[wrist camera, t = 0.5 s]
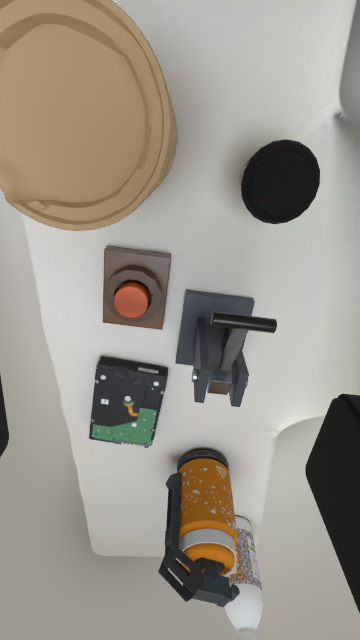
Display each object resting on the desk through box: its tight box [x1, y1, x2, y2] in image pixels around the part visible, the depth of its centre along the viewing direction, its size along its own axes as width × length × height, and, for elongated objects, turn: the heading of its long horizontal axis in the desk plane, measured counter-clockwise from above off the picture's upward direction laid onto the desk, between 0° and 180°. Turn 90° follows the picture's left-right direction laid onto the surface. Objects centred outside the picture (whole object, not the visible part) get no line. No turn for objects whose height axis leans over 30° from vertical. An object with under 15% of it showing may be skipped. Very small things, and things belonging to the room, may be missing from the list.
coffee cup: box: [241, 139, 320, 224], centre depth 32 cm, size 7×7×10 cm
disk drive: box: [89, 357, 168, 448], centre depth 50 cm, size 10×3×15 cm
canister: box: [158, 450, 240, 607], centre depth 49 cm, size 9×11×20 cm
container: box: [0, 0, 177, 231], centre depth 27 cm, size 13×13×18 cm
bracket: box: [176, 290, 254, 407], centre depth 40 cm, size 11×9×13 cm
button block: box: [103, 246, 171, 330], centre depth 41 cm, size 10×8×4 cm
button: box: [114, 281, 149, 318], centre depth 39 cm, size 4×4×2 cm
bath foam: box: [223, 516, 263, 640], centre depth 57 cm, size 7×7×20 cm
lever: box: [207, 312, 277, 395], centre depth 32 cm, size 12×6×2 cm, turn 173°
